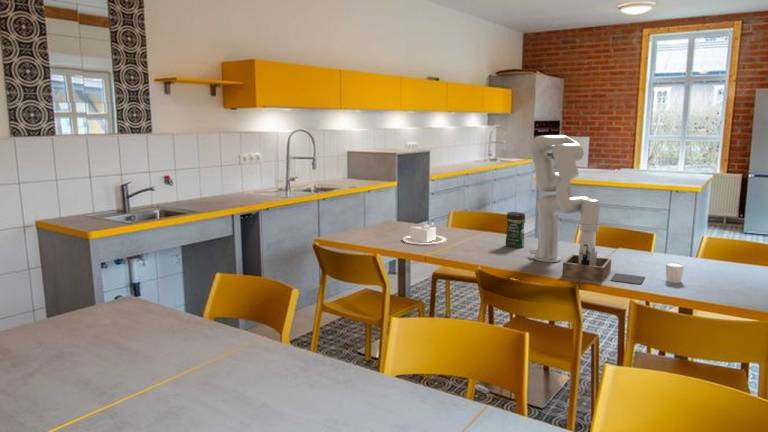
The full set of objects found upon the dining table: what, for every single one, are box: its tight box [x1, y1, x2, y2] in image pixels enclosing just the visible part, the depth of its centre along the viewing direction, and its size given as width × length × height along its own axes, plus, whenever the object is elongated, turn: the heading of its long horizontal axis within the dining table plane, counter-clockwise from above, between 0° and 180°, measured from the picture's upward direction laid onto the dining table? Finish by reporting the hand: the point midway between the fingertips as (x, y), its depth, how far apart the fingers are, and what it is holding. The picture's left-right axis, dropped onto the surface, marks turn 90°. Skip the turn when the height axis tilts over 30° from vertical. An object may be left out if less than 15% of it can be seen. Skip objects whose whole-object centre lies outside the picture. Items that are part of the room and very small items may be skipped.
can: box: [578, 247, 598, 266], centre depth 251 cm, size 8×8×12 cm
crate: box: [561, 254, 612, 282], centre depth 252 cm, size 17×17×6 cm
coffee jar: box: [505, 211, 526, 248], centre depth 305 cm, size 10×8×19 cm
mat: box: [610, 272, 646, 286], centre depth 244 cm, size 12×12×1 cm
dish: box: [401, 222, 447, 245], centre depth 321 cm, size 25×25×11 cm
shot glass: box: [665, 262, 685, 284], centre depth 240 cm, size 7×7×7 cm
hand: (587, 266), depth 252 cm, fingers closed on can, 7 cm apart
